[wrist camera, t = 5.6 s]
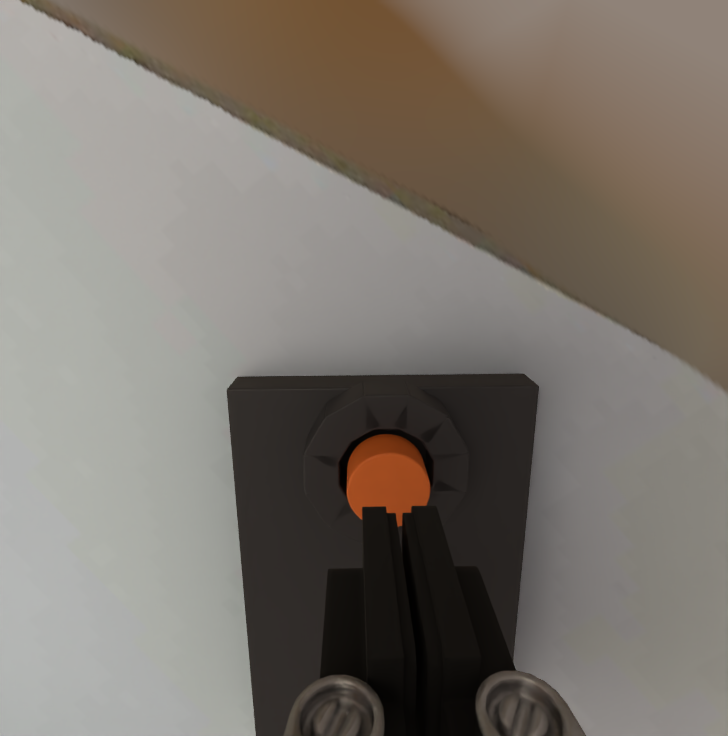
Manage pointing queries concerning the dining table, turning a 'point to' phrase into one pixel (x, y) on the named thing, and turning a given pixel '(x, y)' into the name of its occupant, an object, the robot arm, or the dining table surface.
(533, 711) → the robot arm
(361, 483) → the button
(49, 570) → the dining table surface
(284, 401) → the scale
